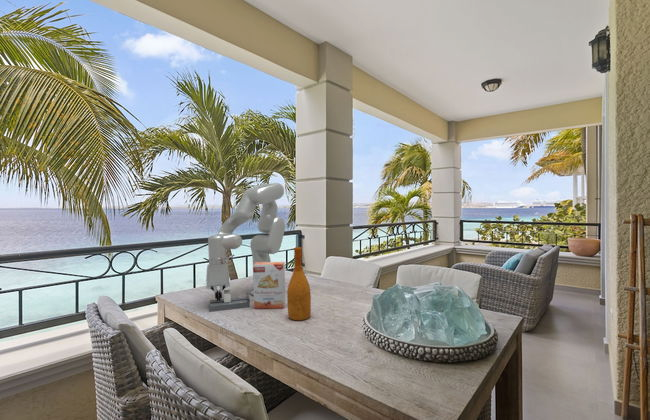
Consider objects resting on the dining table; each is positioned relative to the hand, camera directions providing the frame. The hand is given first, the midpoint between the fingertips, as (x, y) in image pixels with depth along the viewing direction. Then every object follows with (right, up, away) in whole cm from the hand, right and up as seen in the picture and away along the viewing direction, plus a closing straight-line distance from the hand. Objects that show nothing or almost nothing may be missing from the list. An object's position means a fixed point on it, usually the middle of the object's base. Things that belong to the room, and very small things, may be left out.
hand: (218, 299), depth 148 cm
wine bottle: (+40, -3, -15) cm, 42 cm away
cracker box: (+25, -3, -1) cm, 25 cm away
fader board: (+5, -3, +2) cm, 6 cm away
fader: (+4, -2, +1) cm, 4 cm away
